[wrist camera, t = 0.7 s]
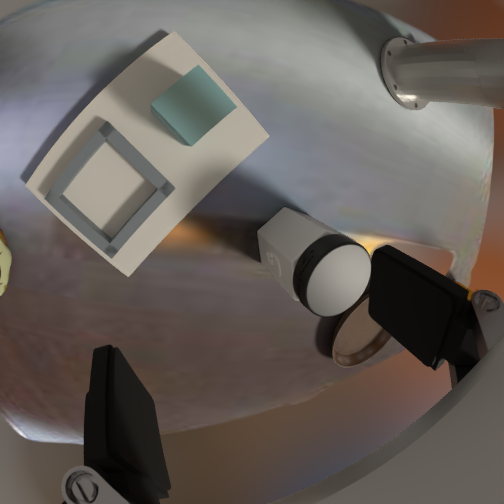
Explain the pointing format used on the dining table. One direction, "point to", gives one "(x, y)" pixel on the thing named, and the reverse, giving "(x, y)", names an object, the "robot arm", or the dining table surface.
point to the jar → (314, 262)
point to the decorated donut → (4, 263)
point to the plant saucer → (357, 336)
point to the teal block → (192, 106)
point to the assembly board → (139, 159)
